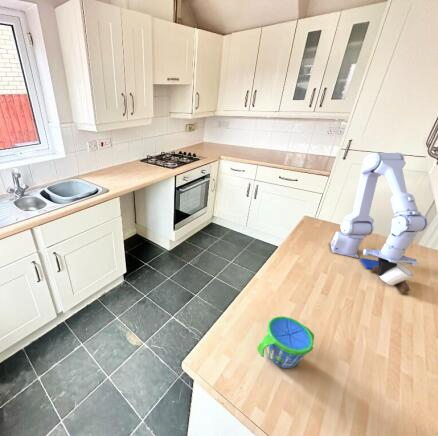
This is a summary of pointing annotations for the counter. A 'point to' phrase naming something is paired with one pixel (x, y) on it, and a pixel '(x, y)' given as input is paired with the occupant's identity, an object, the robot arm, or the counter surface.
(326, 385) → the counter surface
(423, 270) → the counter surface
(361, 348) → the counter surface
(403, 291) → the corner guard
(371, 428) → the counter surface
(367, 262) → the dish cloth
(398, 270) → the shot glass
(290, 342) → the snack cup
